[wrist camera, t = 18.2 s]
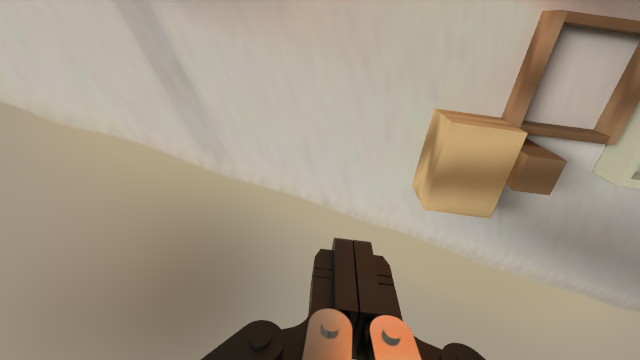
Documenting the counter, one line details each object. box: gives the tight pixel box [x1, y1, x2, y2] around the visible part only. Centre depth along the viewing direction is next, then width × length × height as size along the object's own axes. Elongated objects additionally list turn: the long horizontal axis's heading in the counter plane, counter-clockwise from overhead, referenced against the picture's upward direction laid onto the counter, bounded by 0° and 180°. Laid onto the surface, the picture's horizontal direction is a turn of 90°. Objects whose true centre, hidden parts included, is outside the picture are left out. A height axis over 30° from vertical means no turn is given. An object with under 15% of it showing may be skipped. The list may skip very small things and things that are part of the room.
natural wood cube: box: [412, 109, 528, 218], centre depth 28 cm, size 8×6×5 cm
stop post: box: [506, 138, 567, 195], centre depth 27 cm, size 3×3×6 cm
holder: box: [501, 10, 640, 145], centre depth 26 cm, size 9×9×2 cm
